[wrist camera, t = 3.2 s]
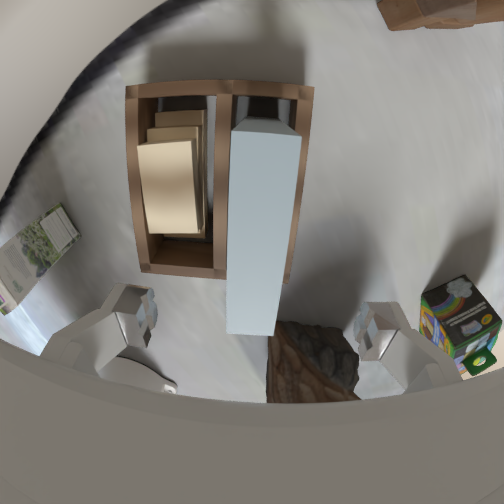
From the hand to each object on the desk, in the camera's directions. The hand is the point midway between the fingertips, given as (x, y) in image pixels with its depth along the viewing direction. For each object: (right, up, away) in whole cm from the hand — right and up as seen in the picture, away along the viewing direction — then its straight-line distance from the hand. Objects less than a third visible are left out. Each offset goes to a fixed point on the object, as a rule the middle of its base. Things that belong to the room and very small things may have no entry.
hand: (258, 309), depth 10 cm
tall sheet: (0, +10, +17) cm, 19 cm away
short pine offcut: (-7, +8, +13) cm, 17 cm away
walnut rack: (-4, +10, +16) cm, 20 cm away
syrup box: (-26, +6, +20) cm, 33 cm away
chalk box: (+30, -6, +25) cm, 40 cm away
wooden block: (+18, +28, +6) cm, 33 cm away
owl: (+7, -11, +29) cm, 32 cm away
